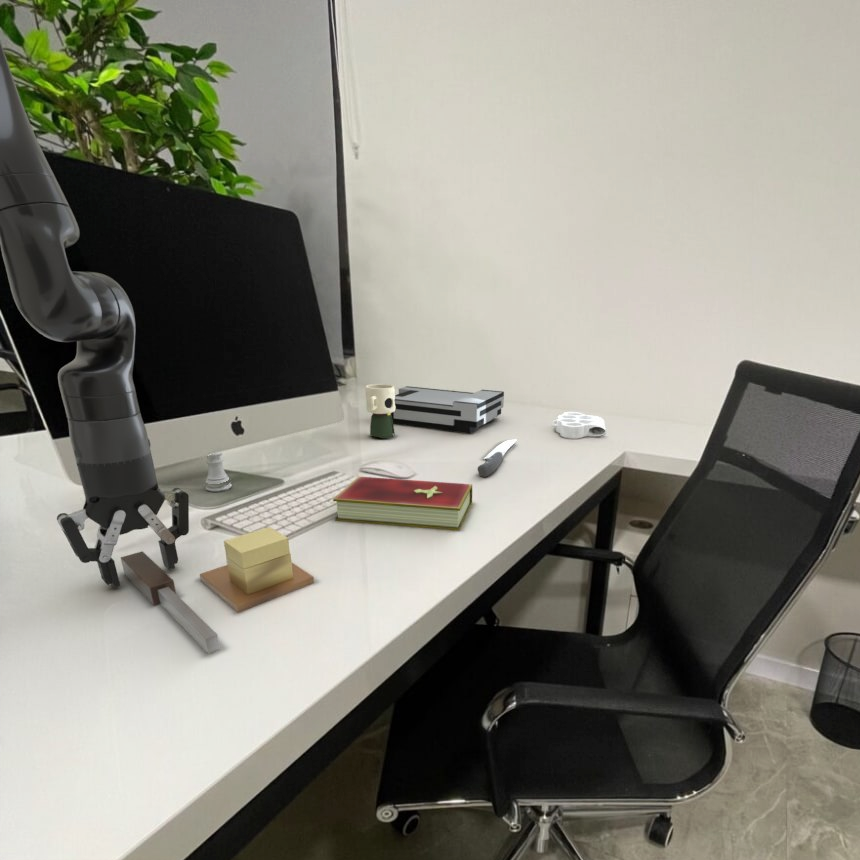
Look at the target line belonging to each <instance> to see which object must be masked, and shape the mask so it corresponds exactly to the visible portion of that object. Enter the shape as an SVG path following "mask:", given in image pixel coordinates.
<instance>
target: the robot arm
mask: <svg viewBox="0 0 860 860" xmlns="http://www.w3.org/2000/svg"><path fill="white" fill-rule="evenodd" d="M1 41H2V40H0V251H1V256H2V259H3V263H4V266H5V271H6V274H7V279H8V283H9V287H10V292H11V294H12V299H13V300H14V303H15V305H16V307H17V310H18V311H19V312H20V314H21V315H22V317H23V318H24V319H25V321H26V322H27V323H28V324H29V325H30V326H31V327H32V328H33V329H34V330H35V331H36V332H38V334H40V335H42V336H43V337H45V338H47V339H49V340H51V341H55V342H60V343H75V342H76V354H75V358H74V359H72V361H70V362H68V363H67V364H65V365H64V366H62V367H61V368H60V369H59V371H58V373H57V381H58V387H59V391H60V394H61V399H62V403H63V406H64V407H63V408H64V411H65V415H66V418H67V423H68V433H69V440H70V444H71V447H72V452H73V456H74V459H75V463H76V467H77V471H78V473H79V474H78V475H79V478H80V482H81V487H82V489H83V493H84V497H85V501H84V505H83V507H82V509H79V510H76V511H74V512H72V513H65V512H62V513H59V514H57V516H56V521H57V523H58V524H59V526H60V529H61V530H62V532H63V534H64V536H65V538H66V540H67V541H68V543H69V546H70V547H71V549H72V551H73V553H74V554H75V556H76V557H77V558H78V559H79V560H80V562H81V563H83V564H88V563H90V562H96V563H97V566H98V570H99V573H100V574H99V575H100V578H101V579H102V580H103V582H104V583H105V584H106V585H107V586H109V585H110V586H111V587H112V588H113V589H114V588H118V587H120V586H121V583H120V577H119V575H118V571H117V570H118V569H117V567H116V566H117V565H116V563H115V560H114V559H113V557H112V555H113V552H114V549H115V546H116V545H117V544H118V540H119V537H120V536H121V535H125V534H128V533H131V532H132V531H134V530H145V529H148V528H150V529H151V530H152V531H153V532H154V533H155V534H156V535H157V536H158V538H159V540H157V541H158V546H159V551H160V554H161V555H160V556H161V560H162V565H163V566H164V568H166V570H168V571H170V570H173V569H175V568H176V564H178V563H179V556H178V551H177V546H176V541H177V539H178V538H180V537H182V536H187V535H188V534H189V532H190V509H189V508H190V507H189V506H190V504H189V503H190V501H189V500H190V499H189V494H188V492H186V491H184V490H183V489H182V488H179V487H175V488H173V489H172V490H170V491H169V490H165V491H163V490H161V488H160V487H159V484H158V478H157V474H156V469H155V465H154V464H155V463H154V460H153V456H152V455H153V454H152V450H151V441H150V438H149V436H148V431H147V428H146V425H145V422H144V420H143V416H142V414H141V410H140V409H141V408H140V405H139V401H138V396H137V395H138V394H137V391H136V386H135V383H134V378H133V372H134V363H135V351H136V332H137V331H136V328H137V327H136V318H135V311H134V307H133V305H132V302H131V300H130V298H129V296H128V294H127V292H126V291H125V290H124V288H123V287H122V286H121V285H120V283H118V282H117V281H116V280H114V279H113V278H112V277H111V276H109V275H106V274H104V273H100V272H96V271H72V269H71V267H70V264H69V261H68V257H67V254H66V249H67V248H69V247H71V246H73V245H74V244H76V243H77V242H78V241H79V239H80V237H81V236H80V235H81V231H80V227H79V224H78V221H77V219H76V217H75V215H74V212H73V210H72V208H71V206H70V204H69V202H68V200H67V197H66V196H65V194H64V192H63V190H62V188H61V185H60V184H59V182H58V181H57V178H56V176H55V174H54V172H53V169H51V168H52V167H51V166H50V164H49V161H48V160H47V158H46V156H45V153H44V152H43V148H42V147H41V144H40V142H39V141H38V138H37V136H36V133H35V131H34V129H33V127H32V124H31V121H30V120H29V117H28V115H27V113H26V110H25V107H24V104H23V101H22V98H21V96H20V93H19V90H18V88H17V85H16V82H15V79H14V76H13V74H12V71H11V68H10V65H9V62H8V59H7V56H6V53H5V51H4V47H3V44H2V42H1ZM165 501H166V503H167V505H168V506H170V507H171V526H170V527H167V525H165V524H164V523H163V522H162V521H161V520H160V518H159V517H158V514H159V512H160V510H161V508H162V506H163V504H164V503H165ZM87 519H90V520H91V521H92V522H94V523H96V524H97V525H98V529H97V532H96V542H95V545H94V547H88V545H87V542H85V539H84V537H83V535H82V533H81V532H80V531H82V530H84V529H85V526H86V525H85V521H86V520H87Z"/></svg>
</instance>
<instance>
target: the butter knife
mask: <svg viewBox="0 0 860 860" xmlns="http://www.w3.org/2000/svg"><path fill="white" fill-rule="evenodd" d="M120 562H121V565H122V569H123V573H124V575H125V576H126V578H127V579H128V580H129V581H130V582H131V583H132V584H133V585H134V587H136V588H137V590H139V591H140V593H141V594H142V596H144V597H145V598H146V599H147V600H148V601H149V603H151V605H153V606H154V607H155V606H158V605H161V606H162V607H163V608H164V609H165V610H166V612H168V614H170V616H172V618H173V619H174V620H175V621H176V622H177V623H178V624H179V625H180V626H181V627H182V628H183V630H184V631H186V632H187V633H188V634H189V636H190V637H191V638H192V639H193V640H194V641H195V642H196V643H197V645H199V646H200V647H201V648H202V649H203V650H204V651H205V653H207V654H208V655H211V654H212V653H215V652H217V651H220V650H221V647H220V643H219V642H220V641H219V637H218V634H217V633H216V631H214V630H213V629H212V628H211V626H210V625H208V623H206V622H205V621H204V620H203V618H201V616H199V615H198V614H197V613H196V612H195V611H194V609H192V608H191V607H190V606H189V605H187V603H186V602H185V601H184V600H183V599H182V598H181V597H180V596H179V595H178V594H177V592H176V586H175V581H174V579H173V578H172V577H170V575H169V574H168V573H166V572H165V571H164V570H163V569H162V568H161V567H160V566H159V565H158V564H156V563H155V561H154V560H153V559H151V557H149V556H148V555H147V553H145V552H144V551H143V550H141V551H138V552H135V553H131V554H127V555H124V556H121V557H120Z"/></svg>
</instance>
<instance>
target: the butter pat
mask: <svg viewBox="0 0 860 860" xmlns="http://www.w3.org/2000/svg"><path fill="white" fill-rule="evenodd" d="M223 545H224V551H225V557H226V556H227V557H228V558H229V559H231V560H232V561H233V562H235V563H236V564H237V565H239V566H240V567H241V568H243V569H246V568H249V567H252V566H254V565H257V564H260V563H263V562H266V561H269V560H272V559H275V558H278V557H281V556H284V555H287V554H291V550H290V542H289V538H288V537H287V536H285V535H284V534H282V533H281V532H279V531H277V530H276V529H275V528H272V527H271V526H269V527H268V526H267V527H265V528H262V529H257V530H255V531H251V532H249V533H244V534H242V535H238V536H235V537H231V538H228V539H225V540H223Z"/></svg>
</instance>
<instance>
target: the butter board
mask: <svg viewBox="0 0 860 860" xmlns="http://www.w3.org/2000/svg"><path fill="white" fill-rule="evenodd" d="M291 556H292V555H291V553H290V554H287V555H284V556H281V557H278V558H275V559H272V560H269V561H266V562H263V563H260V564H257V565H254V566H252V567H249V568H246V569H243V568H241V567H240V566H239V565H237V564H236V563H235V562H233V561H232V560H231V559H229V558H228V557H227V556H226V555H225V557H226V565H223V566H220V567H217V568H214V569H210V570H208V571H207V570H206V571H204V572H201V573H199V579H200V581H201V582H202V583H203V584H204V585H206V586H207V588H209V589H210V590H211V591H212V592H213V593H215V594H216V595H217V596H218V597H219V598H220V599H221V600H222V601H224V602H225V603H226V604H227V605H228V606H229V607H231V608H232V609H233V610H234V611H236V613H242V612H244V611H247V610H249V609H252V608H254V607H257V606H260V605H262V604H264V603H267V602H269V601H272V600H274V599H277V598H279V597H282V596H284V595H287V594H289V593H292V592H296V591H298V590H300V589H302V588H304V587H307V586H310V585H313V584H315V580H314V579H315V578H314V576H313V575H311V574H310V573H308V571H307V572H306V571H305V570H304V569H303V568H301V567H299V566H297V565H296V564H295V563H293V562H292V557H291Z"/></svg>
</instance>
